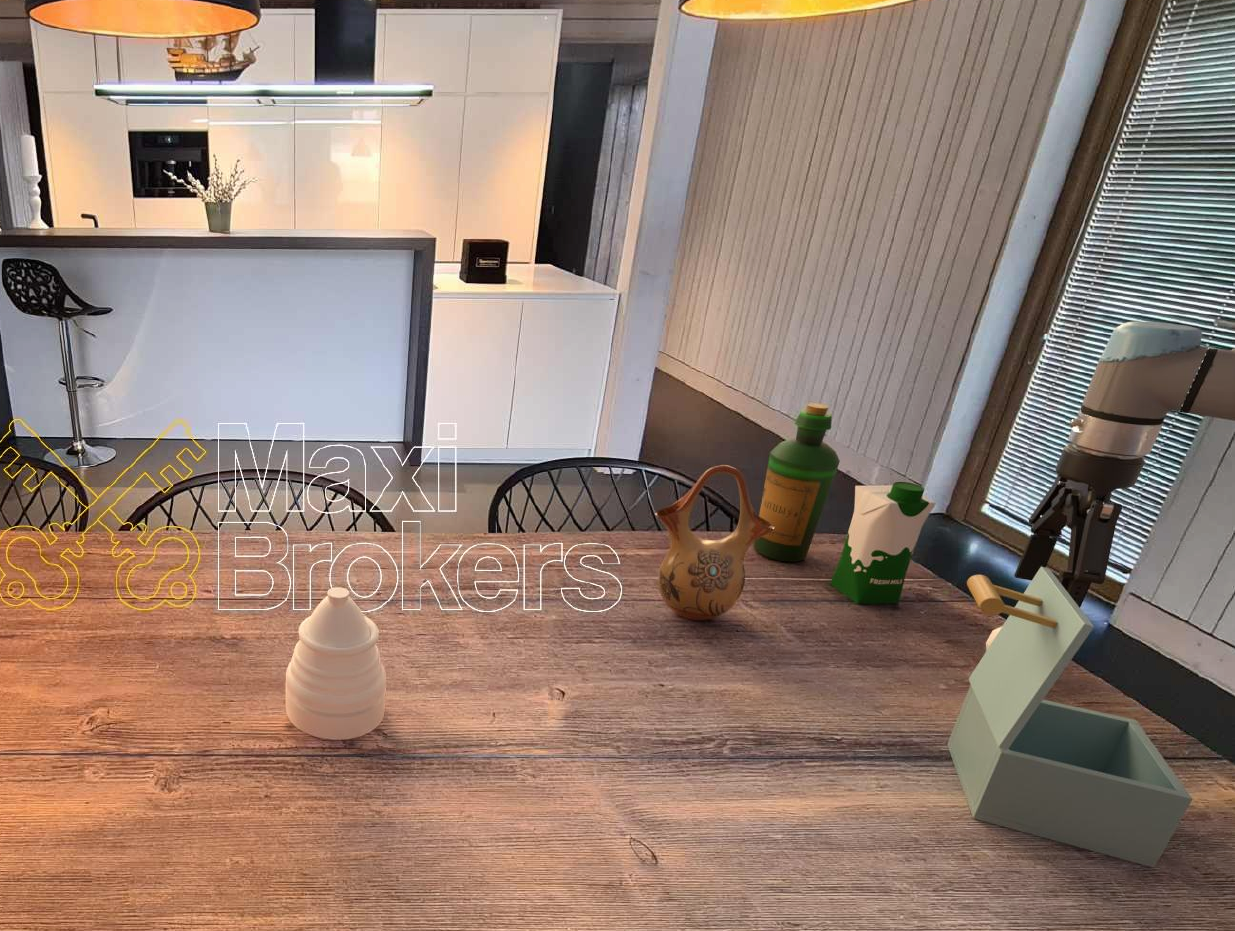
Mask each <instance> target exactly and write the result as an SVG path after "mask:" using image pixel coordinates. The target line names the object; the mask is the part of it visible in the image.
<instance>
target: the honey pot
mask: <svg viewBox="0 0 1235 931" xmlns="http://www.w3.org/2000/svg"><path fill="white" fill-rule="evenodd" d="M326 595H327V596H325V597H324V598H323V599H322V600H321V601H320V603H318V605H317V606H316V607H315V609H314V610H313V611H312V613H311V615H310V616H307V617H306V618H305V619H304V620H303V621H302V622H301V623H300V625H299V627H298V629H297V630H298V631H297V632H298V638H299V640H298V642H297V643H296V644H295V647H294V649H293V654H292V657H291V659H290V662H289V663H288V665H287V668H286V672H285V711H286V712H285V714H286V716H287V718H288V720H289V721H290V722H289V723H291V724H292V725H293V726H294V727H295V728H296V729H298V730H300V731H301V732H303V733H305V734H307V735H309V736H312V737H315V738H319V739H324V740H331V741H338V740H339V741H342V740H350V739H356V738H360V737H362V736H365V735H367V734H369V733H371V732H373V731H374V730H375V729H376V728H378V727H379V726H380V725H381V723H382V721H383V720H384V718H385V711H386V699H387V698H386V697H387V679H388V678H387V674H386V670H385V666H384V665H383V662H382V659H381V655H380V654H381V653H380V649H379V647H378V646H377V645H376V644H377V643H378V641H379V638H380V631H379V627H378V626H377V624H376V623H375V622H374V621H373V620H372V619H370V618H369V617H367V616H366V615H364V614H363V612H362V611H361V609H360V607H359V606H358V605H357V604H356V602H355V601H354V599H352V598H351V597H350V591H349V590H348V589H347V588H344V587H341V586H340V587H339V586H336V587H331V588H329V589H328V590H327V593H326Z"/></svg>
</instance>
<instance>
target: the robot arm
mask: <svg viewBox="0 0 1235 931" xmlns="http://www.w3.org/2000/svg"><path fill="white" fill-rule="evenodd" d="M1202 337H1203V331H1202V330H1201V329H1199V328H1197V327H1193V326H1190V325H1184V324H1183V325H1182V324H1175V323H1170V322H1169V323H1168V322H1158V321H1138V320H1137V321H1136V320H1135V321H1128V322H1124V323H1122V324H1120V325H1118V326H1116V327H1115V328H1114V330H1112V333H1111V335H1110V337H1109V339H1108V342H1107V344H1106V346H1104V347H1105V348H1104V349H1103V352H1102V354H1101V356H1100V357H1099V359H1098V362H1097V365H1096V367H1095V369H1094V372H1093V375H1092V377H1091V380H1090V382H1089V385H1088V388H1087V390H1086V393H1085V396H1084V398H1083V401H1082V403H1081V405H1080V408H1079V411H1078V414H1077V417H1076V419H1071V420H1070V421H1069V424H1068V426H1069V427H1072V428H1071V431H1070V433H1069V436H1068V441H1069V442H1070V443H1068V444H1067V445H1065V446H1064V447H1063V449H1062V451H1061V454H1060V456H1059V459H1058V461H1057V463H1056V466H1055V472H1056V473H1057V475H1056V478H1055V479H1054V482H1053V483H1052V485H1051V487H1050V488H1049V489H1048V490H1047V492H1046V494H1045V495H1044V497H1043V498H1042V500H1041V501H1040V502H1039V503H1038V505H1037V506H1036V508H1035V509H1034V511H1033V512H1032V514H1031V515H1030V517H1028V524H1029V525H1031V527H1030V532H1031V534H1030V536H1029V538H1028V541H1027V543H1026V546H1025V548H1024V550H1023V553H1022V555H1021V557H1020V560H1019V563H1018V565H1017V567H1016V570H1015V572H1014V574H1013V576H1014V578H1015V579H1020V580H1026V581H1030V582H1031V581H1032V580H1033V578H1034V577H1035V575H1036V573H1037V572H1038V570H1039V569H1040V567H1045V568H1047V565H1048V564H1049V560H1050V559H1051V556H1052V554H1053V552H1054V549H1055V547H1056V545H1057V542H1058V539H1057V538H1062V537H1063V536H1062V534H1063V532H1062V530H1064V528H1065V527H1067V528H1068V529H1070V536H1069V549H1068V561H1067V569H1066V571H1065V570H1063V571H1062V572H1060V573H1059V574H1058V576H1059V579H1058V581H1059V582H1060V583H1061V584H1062V586H1063V587H1064V588H1065V590H1066V591H1067V592H1068V593H1069V595H1070V596H1071V597H1072V599H1073V600H1074V601H1075V602H1076V604H1077V605H1078V606H1079V608H1080V609H1081V607H1082V605H1083V602H1084V600H1085V598H1086V596H1087V594H1088V591H1089V590H1090V587H1091V585H1092V584H1096V585H1103V584H1104V582H1105V580H1106V574H1107V570H1108V564H1109V560H1110V555H1111V550H1112V546H1113V541H1114V536H1115V531H1116V526H1117V523H1118V520H1119V518H1120V515H1121V512H1122V510H1123V505H1122V504H1121V503H1115V502H1112V499H1111V498H1112V492H1114V491H1115V490H1119V489H1121V490H1122V489H1123V490H1125V489H1130V488H1131V487H1134V486H1135V485H1136V483H1137V481H1138V480H1139V477H1140V474H1141V472H1142V471H1143V468H1144V466H1145V463H1146V460H1145V459H1144V456H1147V455H1149V454H1151V453H1152V450H1153V448H1154V445H1155V444H1156V441H1157V439H1158V436H1159V434H1160V432H1161V430H1162V428H1163V426H1164V421H1165V419H1166V416H1167V414H1168V413H1169V411H1172V412H1177V413H1183V414H1191V415H1198V416H1203V417H1209V418H1216V419H1223V420H1227V421H1228V420H1229V421H1233V422H1235V347H1234V348H1233V349H1231V350H1230V349H1229V350H1228V349H1218V348H1215V347H1209V346H1204V345H1202V339H1203V338H1202Z"/></svg>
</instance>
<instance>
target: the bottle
mask: <svg viewBox="0 0 1235 931" xmlns="http://www.w3.org/2000/svg"><path fill="white" fill-rule="evenodd" d="M829 408H830V406H829V405H826V404H823V403H815V402H810V403H807V404H806V409H801V411H800V412H799V414H798V416H797V418H796V420H795V422H794V425H796V426H797V429H796V434H795V435H796V436H795V437H791V438H787V439H786V440H784V441H780V443H778V444H777V446H775V447H774V448H773V449H772V450H771V451H770V453H769V457H768V463H767V468H766V475H765V479H764V480H765V481H764V485H763V486H764V488H763V491H762V497H761V502H760V509H759V514H758V516H759V517H761V518H763V519H764V520H766V521H767V522H769V523H770V524H771V525H772V526H773V527H774V530H772V531H771V532H769V533H767V534H765V535H764V536H762V537H760V538H759V539H757V540H756V541H755V542H753V548H754V550H755V551H756V552H757V553H758V554H760V555H762V556H764V557H765V558H768V559H770V560H773V561H778V562H783V563H785V562H786V563H794V562H800V561H804V560H805V559H806V558H807V555H808V553H809V551H810V547H811V544H812V541H813V538H814V536H815V532H816V530H817V527H818V525H819V522H820V519H821V516H822V513H823V510H824V508H825V505H826V502H827V499H828V496H829V493H830V490H831V487H832V485H833V482H834V480H835V476H836V474H837V471H838V468H839V465H840V463H841V460H840V458H839V456H838V454H837V452H836V450H834V449H833V448H832V447H831V446H829V444H827V443H826V442H825V441H823V440H824V438H825V436H826V432H827V431H829V430H832V422H833V421H832V420H833V419H832V418H833V414H831V413H830V412H828V411H829Z"/></svg>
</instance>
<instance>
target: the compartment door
mask: <svg viewBox="0 0 1235 931" xmlns="http://www.w3.org/2000/svg"><path fill="white" fill-rule="evenodd" d="M966 585H967V588H968V589H969V592H970V593H971V595H972V597H973V599H974V601H975V603H976V604H977V607H978V608H979V610H980V611H981V612H982V613H983V614H984V615H986V616H997V615H1000V614H1002V613H1003V614H1006V615H1008V617H1007V619H1006V620H1005V622H1004V623H1003V625H1001V627H1002V628H1001V629H1000V631H999V633H998V634H997V636H996V637H995V639H994V640H993V642H992V643H991V645H990V647H989V648H988V650H987V651H986V650H985V653H984V654H983V655H982V658H981V659H980V661H979V662H978V664H977V665H976V666H975V668H974V670H973V671H972V673H971V674H970V676H969V678H968V681H969V684H970V685H971V686H972V688H973V690H974V693H975V695H976V697H977V700H978V702H979V704H980V706H981V709H982V711H983V713H984V715H985V718H986V720H987V722H988V724H989V727H990V729H991V731H992V733H993V736H994V738H995V740H996V743H997V745H998V747H1000V748H1002V749H1005V750H1008V748H1009V747H1010V746H1011V744H1012V743H1013V741H1014V740H1015V739H1016V737H1017V736H1018V734H1019V733H1020V731H1021V730H1022V729H1023V727H1024V726H1025V724H1026V723H1027V722H1028V720H1029V719H1030V717H1031V716H1032V714H1033V713H1034V712H1035V710H1036V709H1037V707H1038V706H1039V705H1040V703H1041V702H1042V700H1045V697H1046V696H1047V695H1048V693H1049V692H1050V690H1051V689H1052V688H1053V686H1054V685H1055V683H1056V682H1057V681H1058V679H1059V678H1060V676H1061V675H1062V673H1063V672H1064V670H1065V669H1066V668H1067V666H1068V665H1069V664H1070V662H1071V661H1072V660H1073V658H1074V656H1075V655H1076V654H1077V652H1078V651H1079V650H1080V648H1081V647H1082V645H1083V644H1084V642H1085V641H1086V640H1087V638H1088V636H1089V635H1090V633H1091V632H1092V631H1093V630H1094V628H1095V626H1094V624H1093V623H1092V622H1091V620H1090V619H1089V618H1088V617H1087V615H1086V614H1085V613H1084V611H1083V610H1082V609H1081V607H1080V608H1079V606H1078V605H1077V604H1076V602H1075V601H1074V600H1073V599H1072V597H1071V596H1070V595H1069V593H1068V592H1067V591H1066V590H1065V588H1064V587H1063V586H1062V584H1061V583H1060V582H1059V579H1058V578H1057V577H1056V575H1055V574H1054V572H1052V570H1051V569H1050V568H1048V567H1046V568H1045V567H1040V569H1039V570H1038V572H1037V573H1036V575H1035V577H1034V578H1033V580H1032V581H1031V580H1030V583H1029V584H1028V586H1027V587H1026V589H1025V590H1024V592H1020V591H1017V590H1013V589H1009V588H1006V587H1002V586H999V585H996V584H993V583H992V581H991V579H990V578H989V577H988V576H986V575H983V574H974V575H971V576H970V577H969V578H968V579H967V580H966ZM1001 597H1006V598H1009V599H1012V600H1015V601H1018V602H1017V603H1016V605H1015V606H1011V605H1007V604H1005V603H1004V601H1003V600H1002V598H1001Z"/></svg>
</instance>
